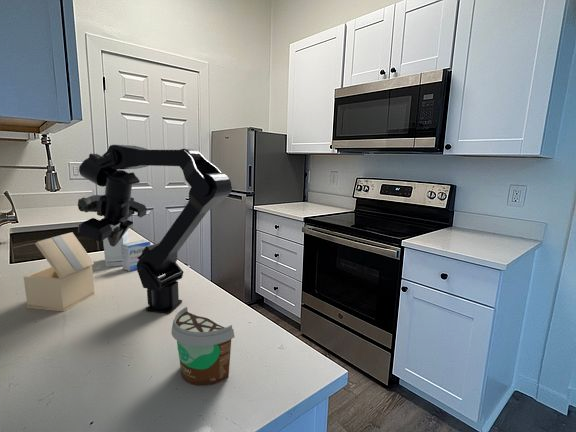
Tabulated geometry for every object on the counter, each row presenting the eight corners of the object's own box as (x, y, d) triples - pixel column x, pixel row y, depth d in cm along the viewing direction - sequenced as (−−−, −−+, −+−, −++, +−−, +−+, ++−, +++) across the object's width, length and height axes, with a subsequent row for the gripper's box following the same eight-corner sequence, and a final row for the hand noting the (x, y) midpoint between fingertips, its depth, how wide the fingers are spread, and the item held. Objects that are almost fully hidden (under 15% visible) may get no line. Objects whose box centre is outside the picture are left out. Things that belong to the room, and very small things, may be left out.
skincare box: (112, 257, 118) (110, 229, 116) (131, 256, 120) (129, 229, 118) (104, 267, 108) (101, 236, 107) (125, 265, 110) (123, 235, 108)
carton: (94, 294, 87) (92, 266, 86) (63, 311, 77) (60, 279, 76) (62, 291, 89) (58, 263, 87) (27, 307, 79) (23, 276, 77)
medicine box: (129, 272, 104) (127, 246, 103) (122, 269, 107) (120, 243, 105) (152, 265, 111) (150, 241, 109) (145, 263, 113) (143, 239, 112)
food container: (158, 372, 56) (155, 319, 55) (187, 354, 61) (185, 305, 60) (207, 402, 50) (205, 343, 48) (235, 380, 55) (234, 325, 53)
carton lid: (92, 265, 86) (94, 263, 85) (60, 278, 76) (63, 276, 76) (69, 233, 85) (72, 231, 85) (34, 243, 75) (37, 241, 75)
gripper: (114, 173, 90) (110, 222, 96) (57, 193, 73) (56, 250, 79) (151, 187, 89) (144, 235, 95) (102, 210, 72) (97, 267, 78)
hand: (112, 245), depth 87 cm, fingers closed
